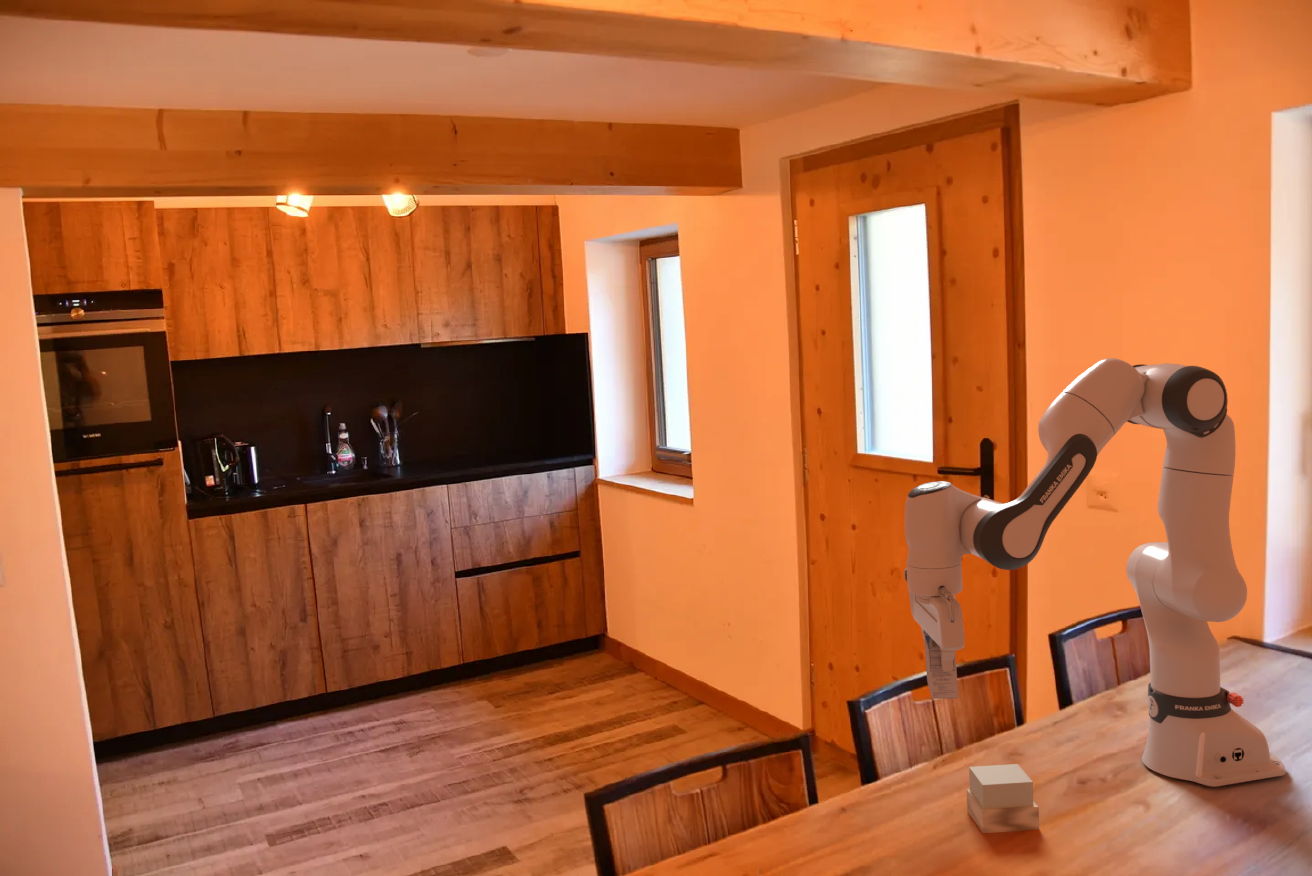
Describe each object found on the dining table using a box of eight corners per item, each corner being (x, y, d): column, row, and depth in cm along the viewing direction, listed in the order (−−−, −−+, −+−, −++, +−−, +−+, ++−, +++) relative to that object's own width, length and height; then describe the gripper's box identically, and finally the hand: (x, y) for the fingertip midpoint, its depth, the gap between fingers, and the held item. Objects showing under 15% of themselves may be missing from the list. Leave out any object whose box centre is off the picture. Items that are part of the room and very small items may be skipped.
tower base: (1021, 808, 175) (1020, 785, 175) (1039, 831, 167) (1038, 807, 167) (967, 812, 175) (966, 789, 174) (982, 835, 167) (982, 810, 166)
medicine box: (958, 699, 172) (955, 647, 172) (930, 699, 173) (927, 648, 172) (953, 682, 180) (950, 633, 179) (926, 683, 181) (923, 634, 180)
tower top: (1018, 787, 174) (1017, 764, 174) (1033, 806, 167) (1032, 781, 167) (969, 790, 174) (969, 767, 174) (983, 809, 167) (982, 785, 167)
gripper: (972, 593, 165) (976, 679, 166) (937, 565, 185) (941, 642, 186) (932, 596, 165) (936, 682, 166) (901, 568, 185) (905, 644, 186)
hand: (938, 660), depth 176 cm, fingers closed on medicine box, 8 cm apart
